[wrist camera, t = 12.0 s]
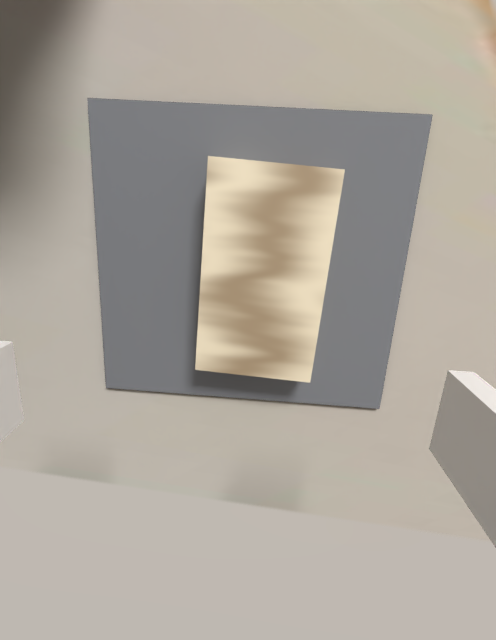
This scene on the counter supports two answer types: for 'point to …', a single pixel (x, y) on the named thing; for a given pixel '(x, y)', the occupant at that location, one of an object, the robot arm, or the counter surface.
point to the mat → (188, 224)
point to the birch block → (265, 266)
